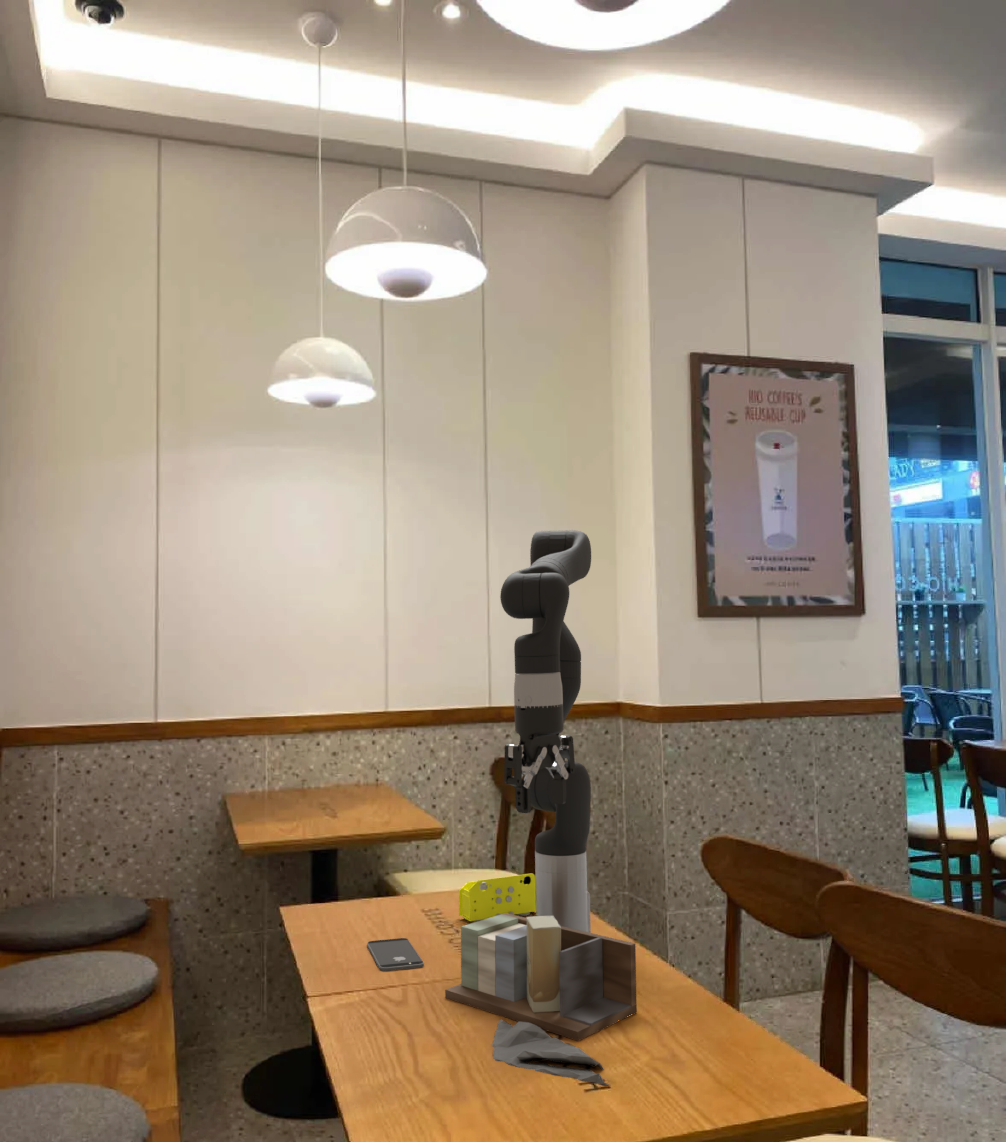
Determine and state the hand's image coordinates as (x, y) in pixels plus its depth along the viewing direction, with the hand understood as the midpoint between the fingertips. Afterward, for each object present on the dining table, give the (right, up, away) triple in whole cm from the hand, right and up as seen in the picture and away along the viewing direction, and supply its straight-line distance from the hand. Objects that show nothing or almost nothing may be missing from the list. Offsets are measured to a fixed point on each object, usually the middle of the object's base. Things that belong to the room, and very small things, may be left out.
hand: (541, 808), depth 156 cm
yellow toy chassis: (-6, -33, +47) cm, 58 cm away
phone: (-25, -32, +22) cm, 46 cm away
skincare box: (0, -28, -6) cm, 29 cm away
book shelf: (-1, -29, -3) cm, 29 cm away
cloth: (-1, -29, -20) cm, 35 cm away
